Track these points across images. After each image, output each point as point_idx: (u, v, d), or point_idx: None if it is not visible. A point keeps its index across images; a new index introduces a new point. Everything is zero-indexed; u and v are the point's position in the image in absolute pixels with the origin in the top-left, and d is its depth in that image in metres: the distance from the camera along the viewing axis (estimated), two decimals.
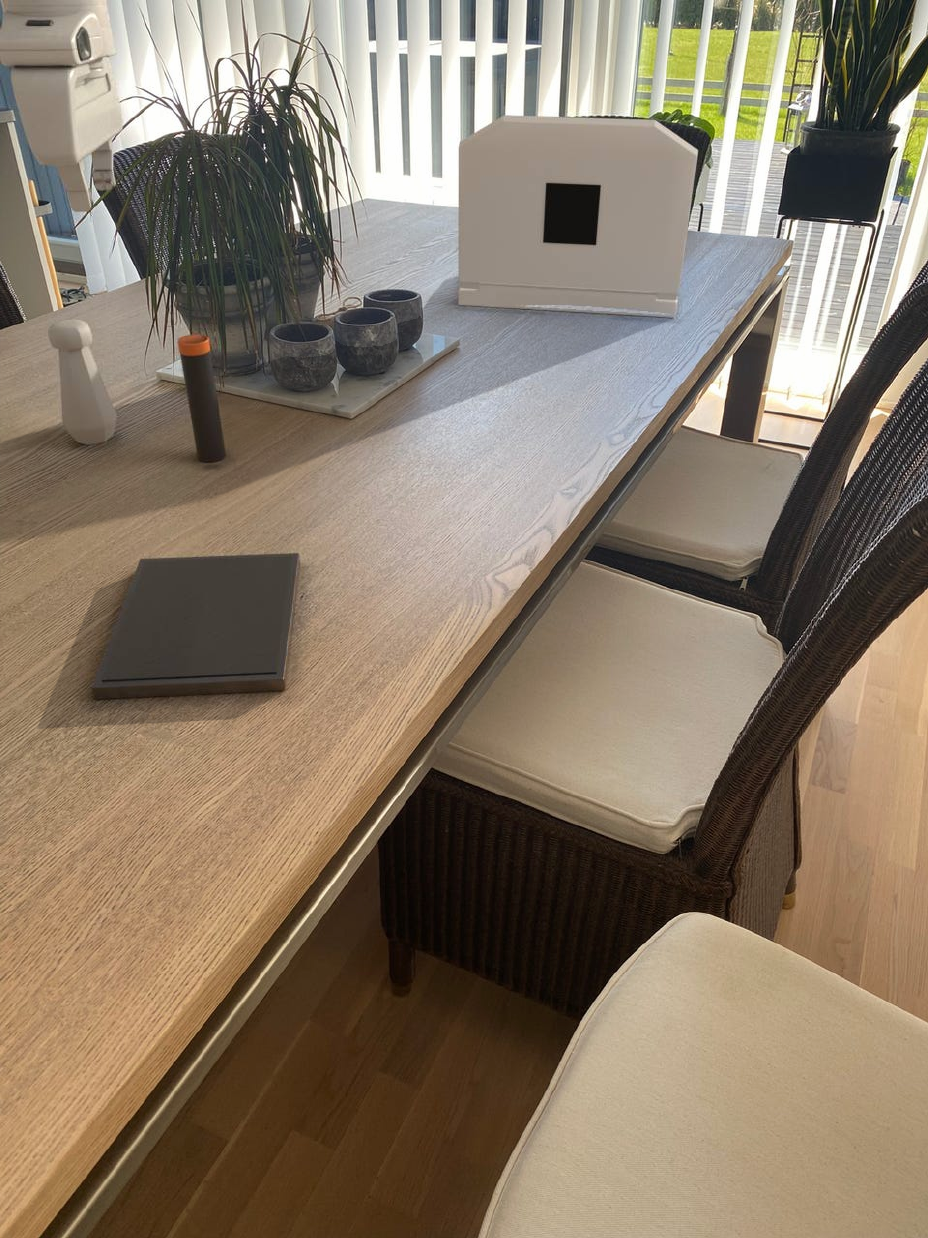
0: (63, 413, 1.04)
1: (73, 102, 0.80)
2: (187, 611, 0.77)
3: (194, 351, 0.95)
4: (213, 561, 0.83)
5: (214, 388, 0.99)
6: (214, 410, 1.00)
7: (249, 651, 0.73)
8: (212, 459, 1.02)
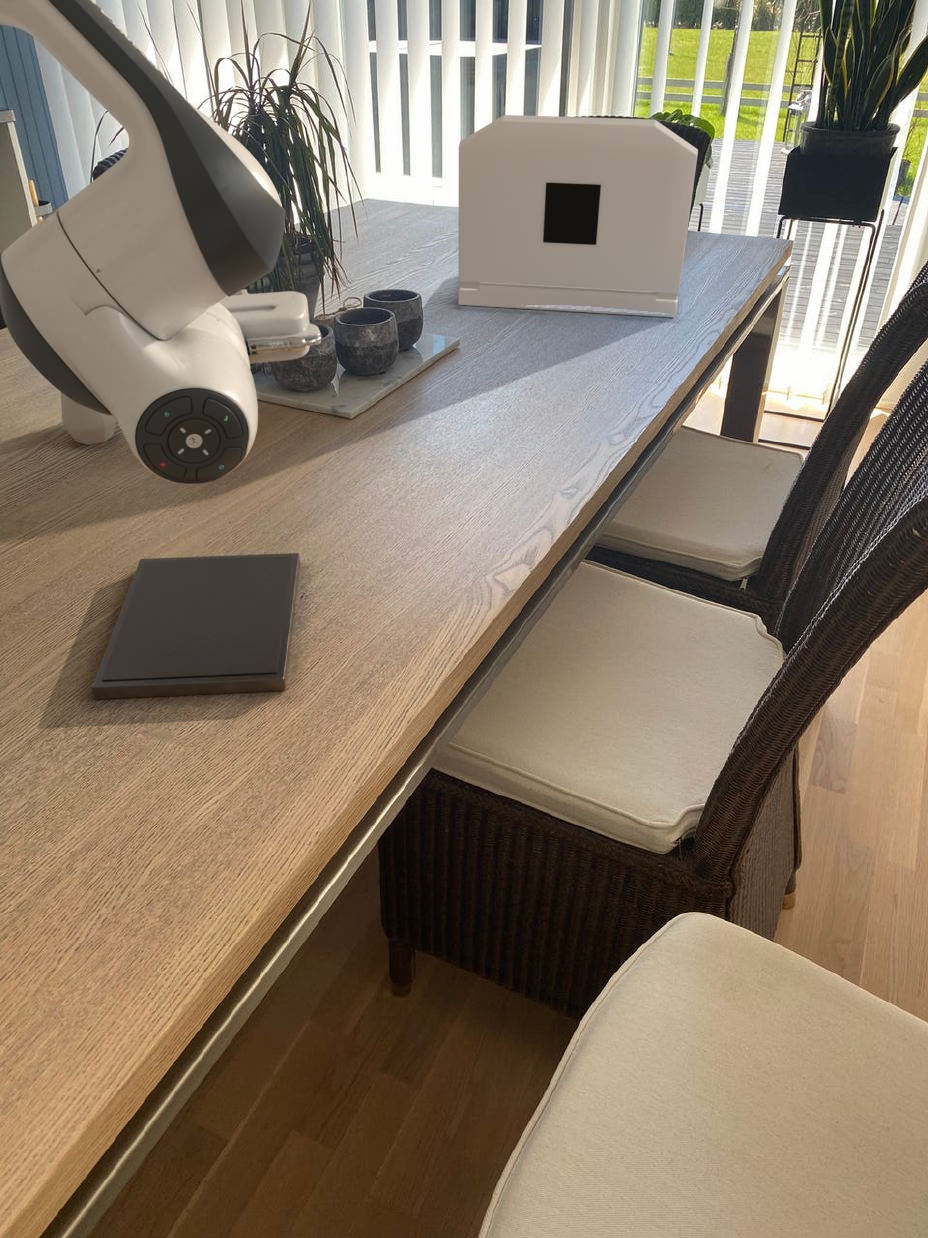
0: (63, 413, 1.04)
1: None
2: (187, 611, 0.77)
3: None
4: (213, 561, 0.83)
5: None
6: None
7: (249, 651, 0.73)
8: None
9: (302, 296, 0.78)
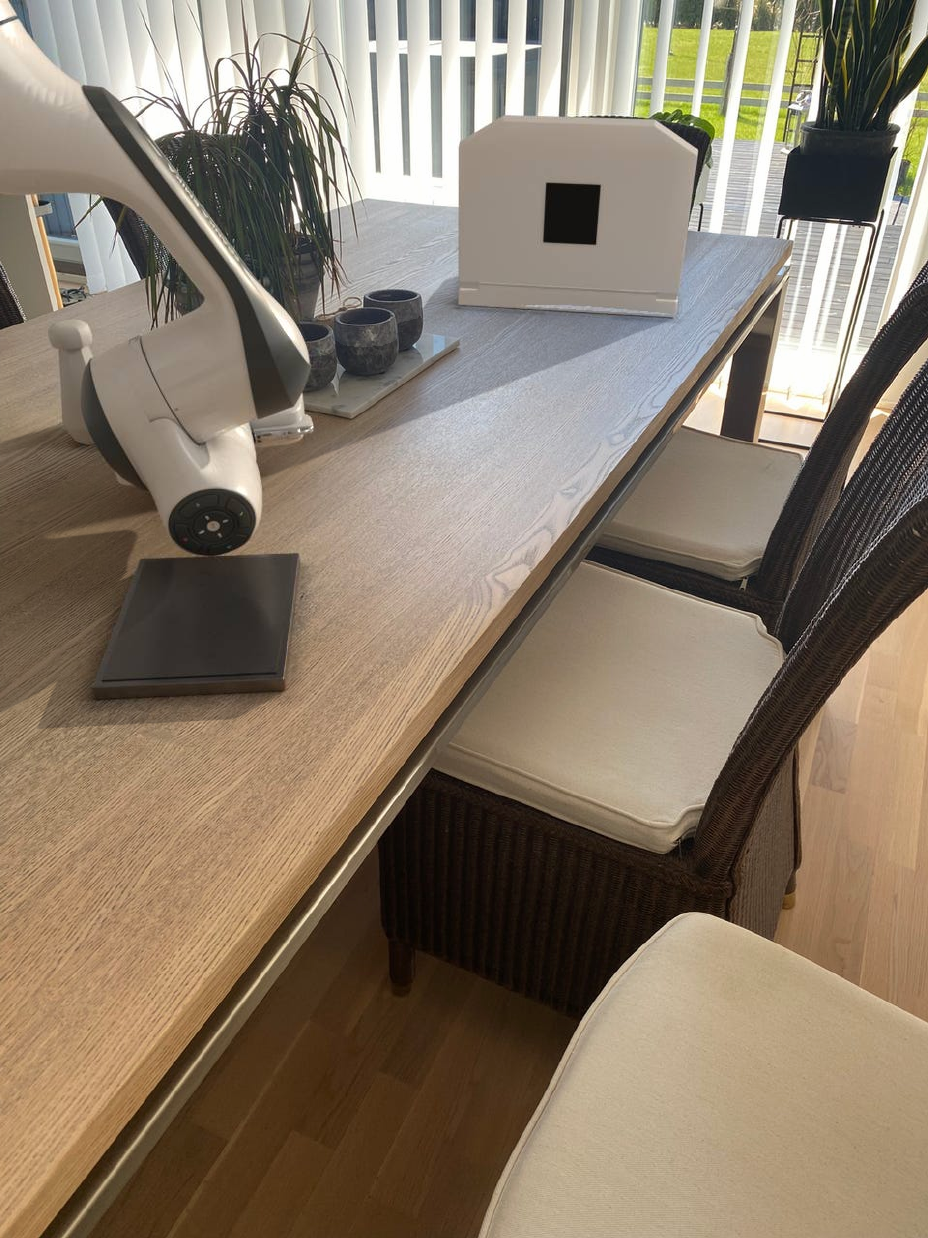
0: (63, 413, 1.04)
1: None
2: (187, 611, 0.77)
3: None
4: (213, 561, 0.83)
5: None
6: None
7: (249, 651, 0.73)
8: None
9: None
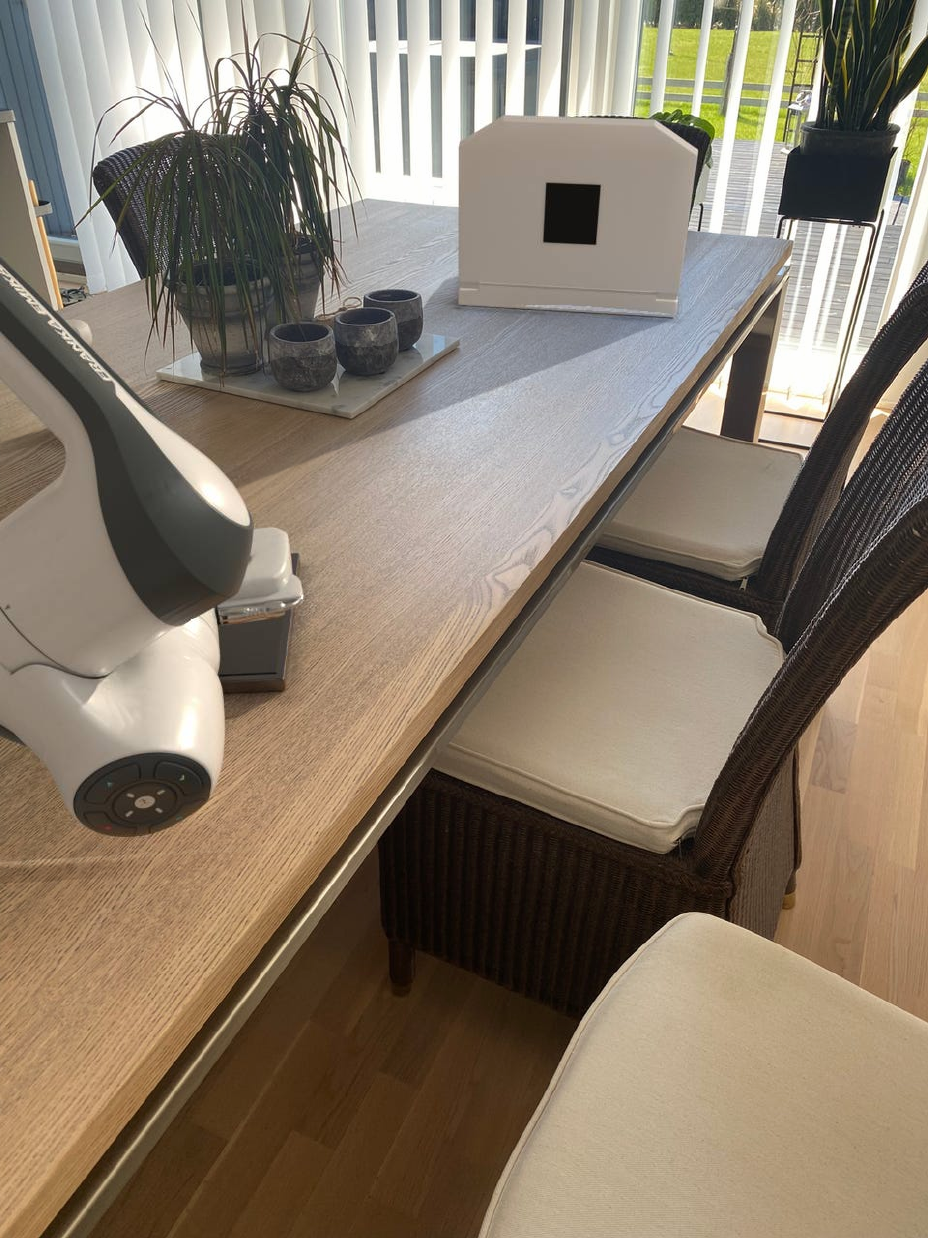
0: None
1: None
2: None
3: None
4: None
5: None
6: None
7: (249, 651, 0.73)
8: None
9: (283, 538, 0.69)
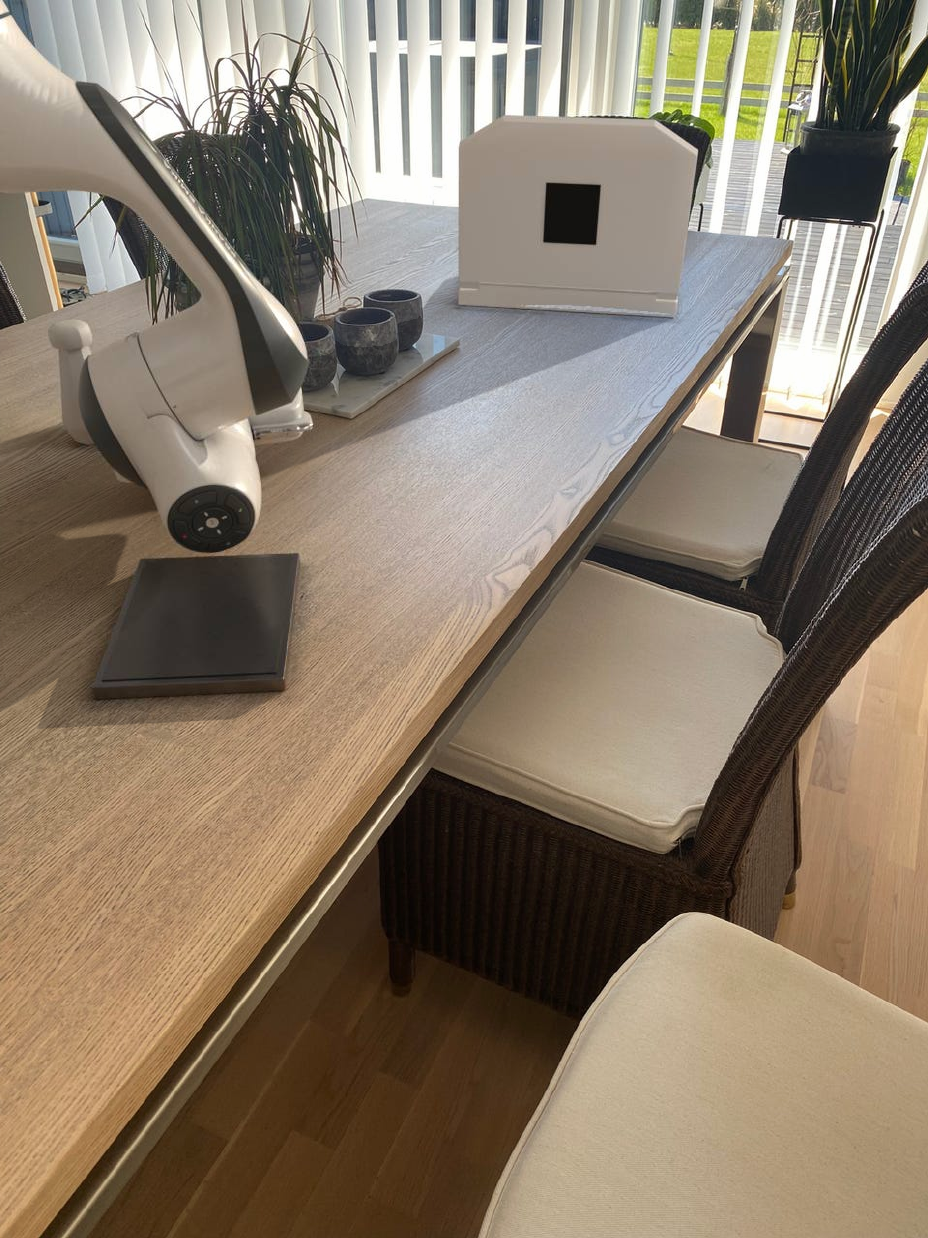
0: (63, 413, 1.04)
1: None
2: (187, 611, 0.77)
3: None
4: (213, 561, 0.83)
5: None
6: None
7: (249, 651, 0.73)
8: None
9: None
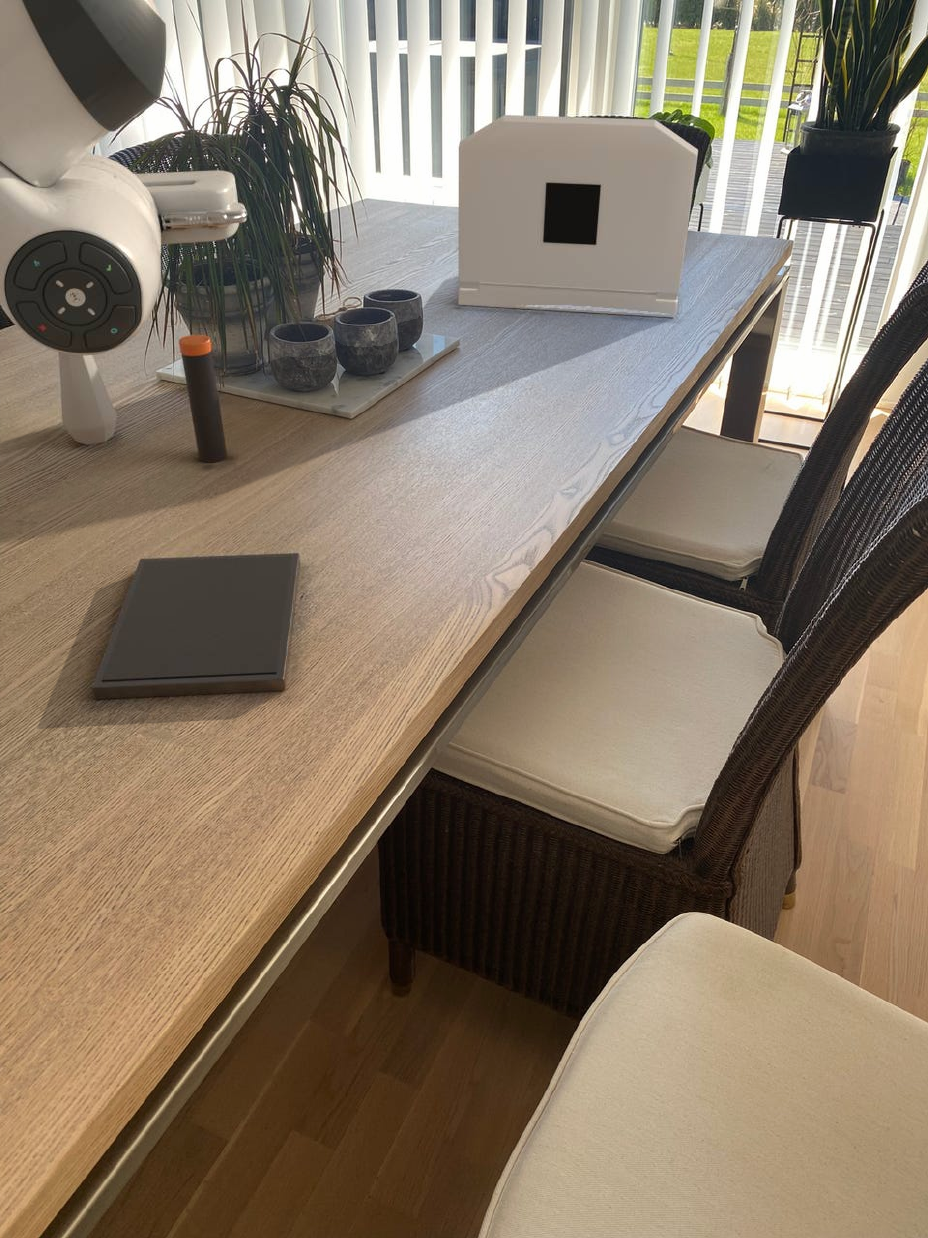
0: (63, 413, 1.04)
1: None
2: (187, 611, 0.77)
3: (195, 351, 0.95)
4: (213, 561, 0.83)
5: (215, 388, 0.99)
6: (216, 411, 1.00)
7: (249, 651, 0.73)
8: (213, 459, 1.02)
9: (229, 174, 0.70)
